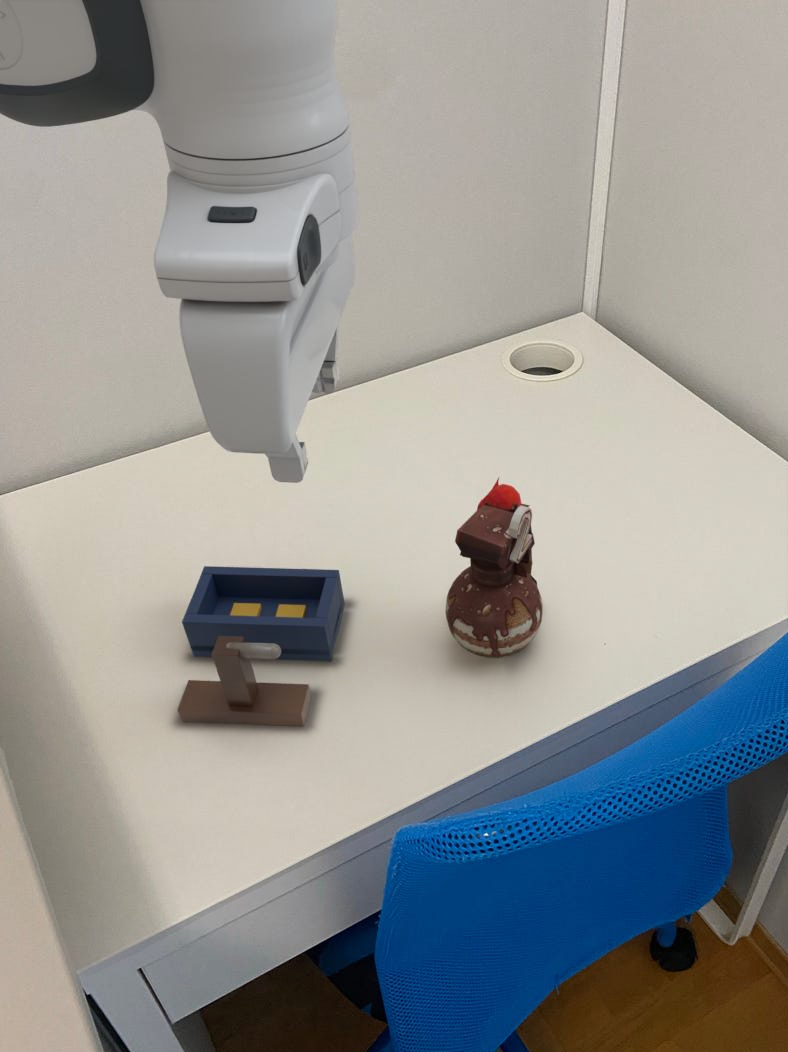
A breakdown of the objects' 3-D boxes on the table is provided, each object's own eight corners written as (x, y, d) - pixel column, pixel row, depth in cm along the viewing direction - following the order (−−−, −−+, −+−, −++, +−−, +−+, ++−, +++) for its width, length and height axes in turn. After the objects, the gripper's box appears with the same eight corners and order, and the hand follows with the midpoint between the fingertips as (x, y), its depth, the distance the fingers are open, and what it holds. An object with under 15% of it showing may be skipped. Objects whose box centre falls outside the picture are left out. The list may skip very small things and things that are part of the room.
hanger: (181, 721, 75) (156, 657, 70) (192, 691, 78) (169, 627, 72) (304, 726, 75) (288, 662, 69) (311, 696, 77) (296, 631, 72)
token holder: (193, 657, 80) (181, 622, 77) (214, 600, 85) (204, 565, 82) (331, 661, 80) (324, 626, 77) (345, 604, 85) (339, 569, 82)
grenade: (479, 590, 86) (474, 453, 75) (561, 616, 83) (569, 477, 72) (431, 659, 80) (419, 521, 69) (518, 689, 77) (520, 550, 66)
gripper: (257, 120, 54) (295, 341, 64) (138, 280, 40) (210, 532, 50) (365, 121, 54) (386, 344, 64) (283, 283, 39) (327, 537, 49)
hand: (308, 428), depth 57 cm, fingers open, 8 cm apart
